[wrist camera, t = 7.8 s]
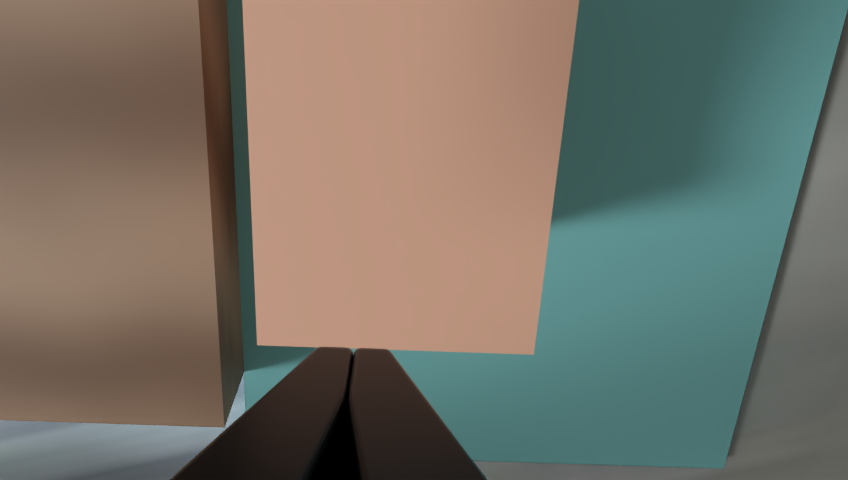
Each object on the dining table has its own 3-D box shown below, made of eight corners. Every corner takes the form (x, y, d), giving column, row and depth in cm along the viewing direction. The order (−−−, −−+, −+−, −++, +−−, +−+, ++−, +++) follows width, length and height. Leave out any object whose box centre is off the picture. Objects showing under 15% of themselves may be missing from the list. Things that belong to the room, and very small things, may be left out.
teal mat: (719, 460, 24) (723, 468, 24) (250, 445, 24) (248, 453, 23) (944, -393, 16) (958, -400, 15) (209, -450, 15) (205, -460, 15)
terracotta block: (297, 227, 20) (500, 235, 21) (256, 345, 15) (533, 354, 15) (292, -50, 18) (527, -38, 18) (240, -30, 12) (580, -13, 12)
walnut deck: (246, 364, 23) (224, 427, 20) (-97, 351, 22) (-168, 414, 19) (218, -271, 16) (179, -307, 13) (-266, -305, 16) (-408, -349, 13)
